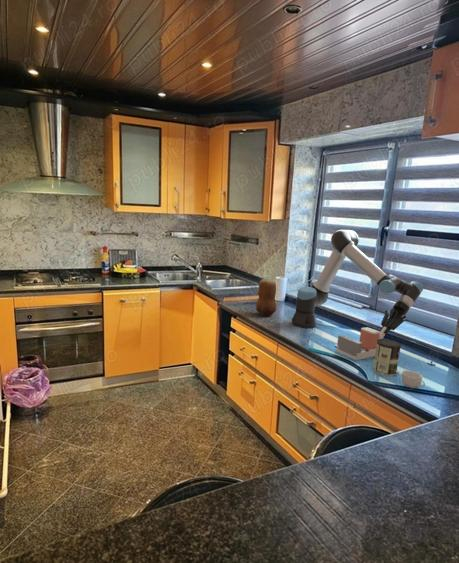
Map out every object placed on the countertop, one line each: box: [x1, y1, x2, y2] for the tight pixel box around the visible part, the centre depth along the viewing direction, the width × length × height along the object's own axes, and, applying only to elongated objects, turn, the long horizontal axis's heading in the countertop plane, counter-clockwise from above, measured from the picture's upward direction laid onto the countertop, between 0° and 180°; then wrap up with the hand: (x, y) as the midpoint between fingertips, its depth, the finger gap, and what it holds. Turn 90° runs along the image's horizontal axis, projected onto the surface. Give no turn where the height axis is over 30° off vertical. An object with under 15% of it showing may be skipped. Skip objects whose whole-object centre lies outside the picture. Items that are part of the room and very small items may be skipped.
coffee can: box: [372, 338, 402, 377], centre depth 173 cm, size 10×10×14 cm
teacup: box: [401, 369, 426, 389], centre depth 160 cm, size 10×8×5 cm
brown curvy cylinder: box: [255, 278, 277, 317], centre depth 255 cm, size 14×13×25 cm
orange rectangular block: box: [358, 326, 380, 350], centre depth 199 cm, size 5×8×10 cm, turn 31°
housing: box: [336, 334, 376, 361], centre depth 197 cm, size 22×13×8 cm, turn 121°
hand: (379, 337), depth 203 cm, fingers closed
